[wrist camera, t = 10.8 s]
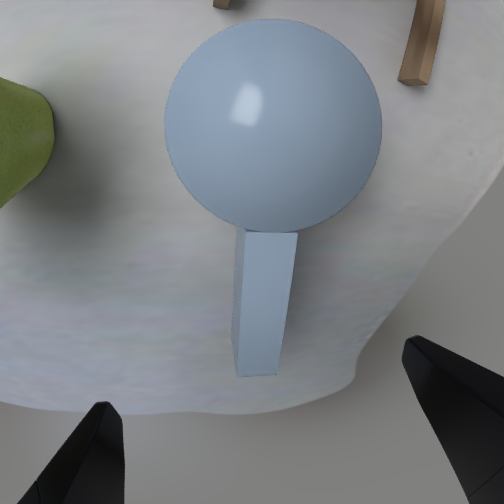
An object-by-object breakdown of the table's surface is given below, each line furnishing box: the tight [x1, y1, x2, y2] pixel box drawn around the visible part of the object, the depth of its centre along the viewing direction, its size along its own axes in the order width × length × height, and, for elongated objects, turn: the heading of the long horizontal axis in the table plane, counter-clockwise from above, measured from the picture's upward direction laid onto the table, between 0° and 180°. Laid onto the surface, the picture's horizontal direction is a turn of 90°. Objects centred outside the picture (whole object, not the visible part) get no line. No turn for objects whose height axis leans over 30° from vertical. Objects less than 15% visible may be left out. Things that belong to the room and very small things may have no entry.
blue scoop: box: [164, 19, 382, 377], centre depth 15 cm, size 16×8×6 cm, turn 176°
